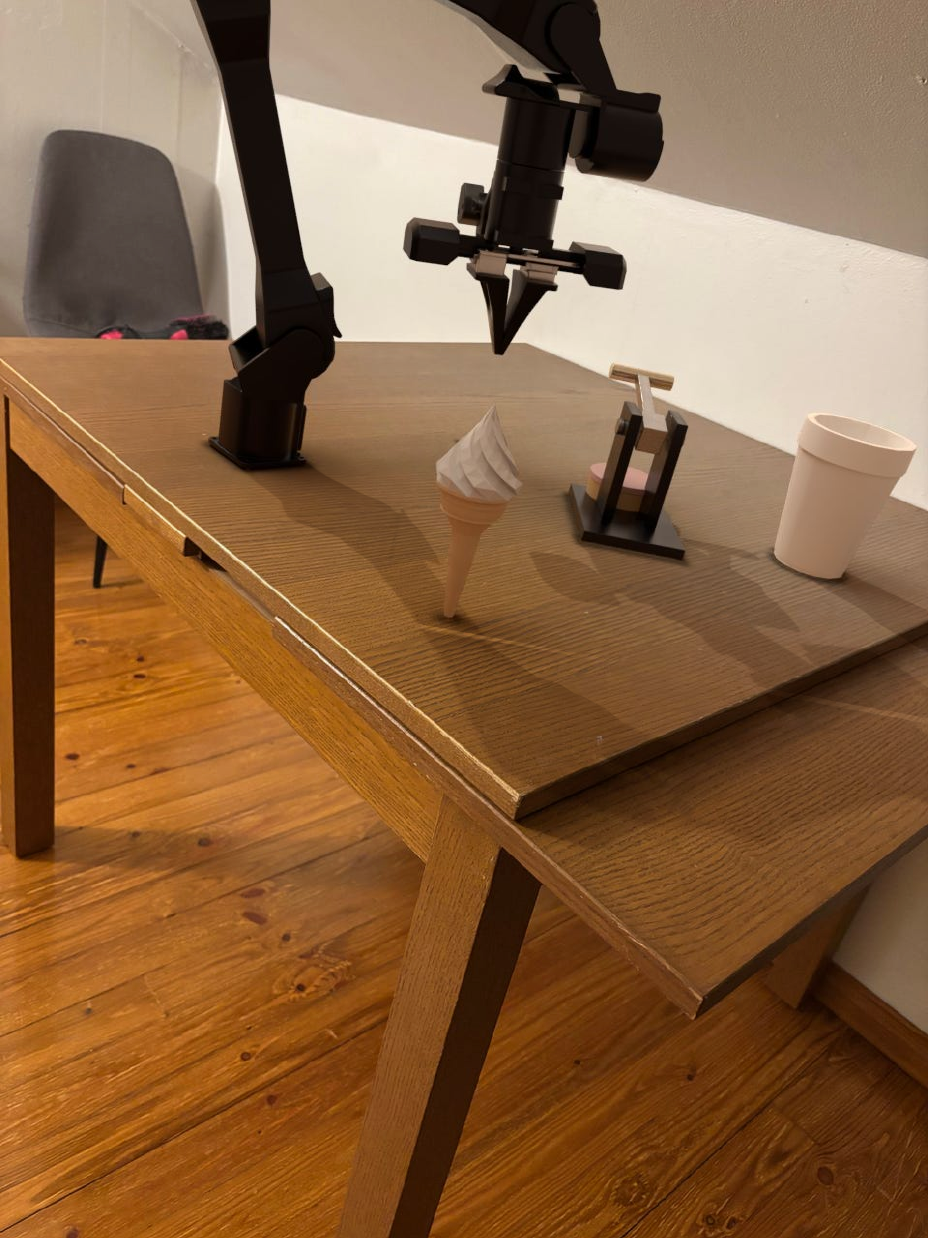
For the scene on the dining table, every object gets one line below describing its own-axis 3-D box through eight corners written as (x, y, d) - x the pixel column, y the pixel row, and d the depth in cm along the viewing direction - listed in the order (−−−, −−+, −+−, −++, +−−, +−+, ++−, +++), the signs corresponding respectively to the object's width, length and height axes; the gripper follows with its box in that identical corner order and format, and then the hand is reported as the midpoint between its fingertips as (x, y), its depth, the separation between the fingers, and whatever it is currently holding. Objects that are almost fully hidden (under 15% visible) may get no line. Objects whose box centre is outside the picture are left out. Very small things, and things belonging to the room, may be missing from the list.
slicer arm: (606, 377, 94) (614, 355, 93) (666, 390, 95) (675, 368, 93) (613, 446, 85) (622, 422, 84) (680, 459, 86) (689, 436, 84)
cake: (618, 527, 90) (629, 492, 88) (567, 498, 94) (576, 465, 92) (662, 519, 94) (673, 486, 92) (611, 493, 98) (621, 460, 96)
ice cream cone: (459, 648, 63) (512, 424, 56) (389, 614, 65) (432, 394, 59) (502, 622, 68) (555, 411, 61) (435, 591, 70) (479, 384, 63)
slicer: (567, 494, 95) (597, 384, 90) (657, 512, 95) (692, 404, 91) (580, 543, 84) (615, 421, 79) (681, 563, 85) (721, 444, 80)
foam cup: (752, 565, 88) (804, 426, 82) (759, 534, 96) (808, 405, 90) (859, 599, 86) (921, 459, 80) (857, 565, 94) (913, 435, 88)
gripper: (609, 173, 90) (573, 344, 97) (408, 139, 86) (386, 320, 93) (647, 187, 81) (605, 375, 88) (424, 150, 77) (398, 350, 84)
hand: (497, 353), depth 89 cm, fingers closed
